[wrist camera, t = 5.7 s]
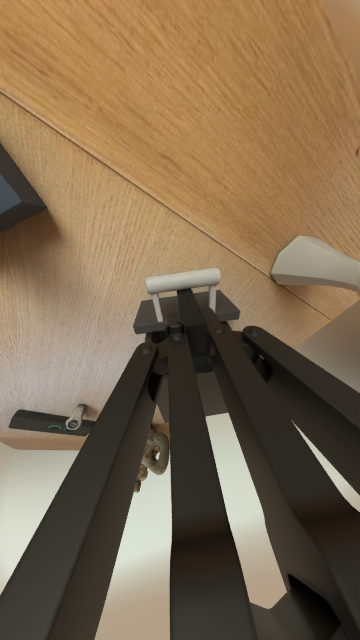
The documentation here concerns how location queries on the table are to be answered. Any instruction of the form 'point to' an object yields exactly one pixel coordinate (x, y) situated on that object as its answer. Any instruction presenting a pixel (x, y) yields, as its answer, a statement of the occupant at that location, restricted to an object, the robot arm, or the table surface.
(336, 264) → the flask
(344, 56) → the table surface
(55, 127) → the table surface
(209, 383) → the drawer cabinet
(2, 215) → the timer panel
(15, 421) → the smart home device
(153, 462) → the teapot
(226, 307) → the open drawer with handle
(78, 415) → the wristwatch
